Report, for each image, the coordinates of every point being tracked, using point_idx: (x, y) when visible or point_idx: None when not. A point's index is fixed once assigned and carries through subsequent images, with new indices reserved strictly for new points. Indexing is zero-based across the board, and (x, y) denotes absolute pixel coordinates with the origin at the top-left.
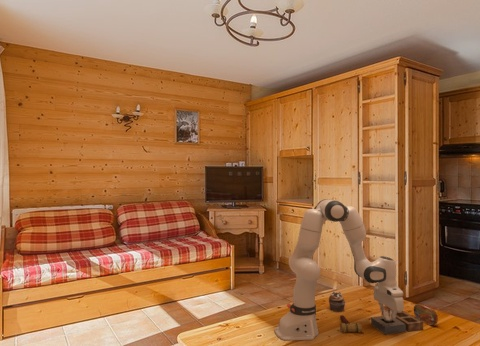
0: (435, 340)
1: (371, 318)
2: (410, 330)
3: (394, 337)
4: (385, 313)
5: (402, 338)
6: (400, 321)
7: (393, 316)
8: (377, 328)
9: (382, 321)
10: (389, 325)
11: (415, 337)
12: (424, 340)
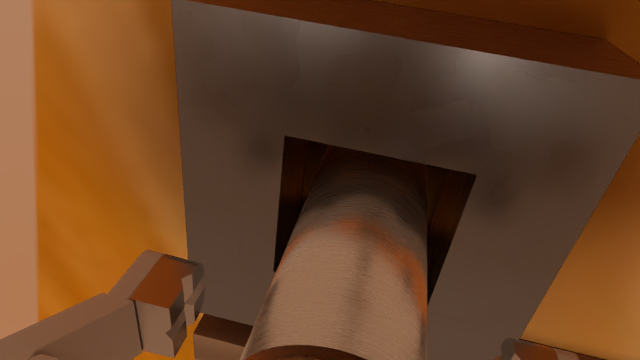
0: (53, 299)
1: (635, 73)
2: None
3: (136, 37)
4: (316, 276)
5: (103, 104)
6: None
7: (131, 277)
8: (417, 10)
9: (375, 135)
10: (199, 113)
11: (112, 227)
12: (54, 240)
